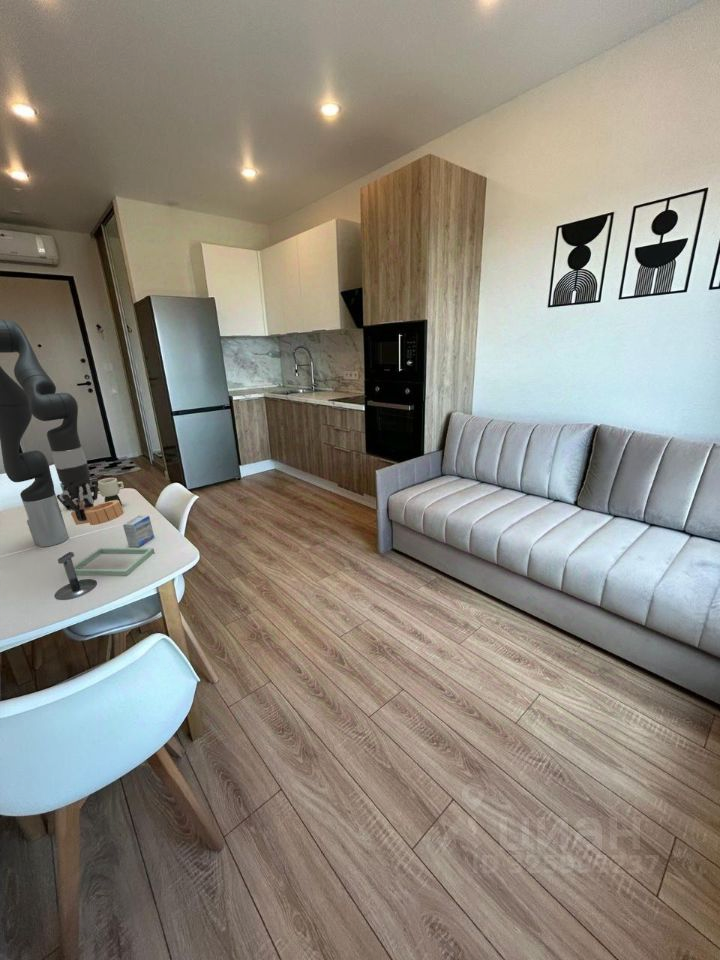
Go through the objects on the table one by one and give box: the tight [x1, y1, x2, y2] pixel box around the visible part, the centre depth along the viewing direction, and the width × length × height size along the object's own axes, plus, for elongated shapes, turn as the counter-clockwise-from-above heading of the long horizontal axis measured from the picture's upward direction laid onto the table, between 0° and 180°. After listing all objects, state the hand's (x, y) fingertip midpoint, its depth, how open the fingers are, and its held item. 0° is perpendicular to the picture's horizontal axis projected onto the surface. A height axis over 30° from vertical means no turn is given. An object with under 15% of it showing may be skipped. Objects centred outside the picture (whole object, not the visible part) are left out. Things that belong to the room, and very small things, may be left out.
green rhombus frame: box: [73, 547, 156, 577], centre depth 123 cm, size 19×14×2 cm
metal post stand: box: [54, 551, 98, 601], centre depth 108 cm, size 10×10×12 cm
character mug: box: [97, 477, 125, 506], centre depth 167 cm, size 11×7×13 cm, turn 128°
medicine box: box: [122, 514, 155, 548], centre depth 137 cm, size 8×4×9 cm, turn 168°
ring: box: [70, 500, 125, 526], centre depth 117 cm, size 14×9×4 cm, turn 85°
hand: (87, 517), depth 118 cm, fingers closed on ring, 3 cm apart
